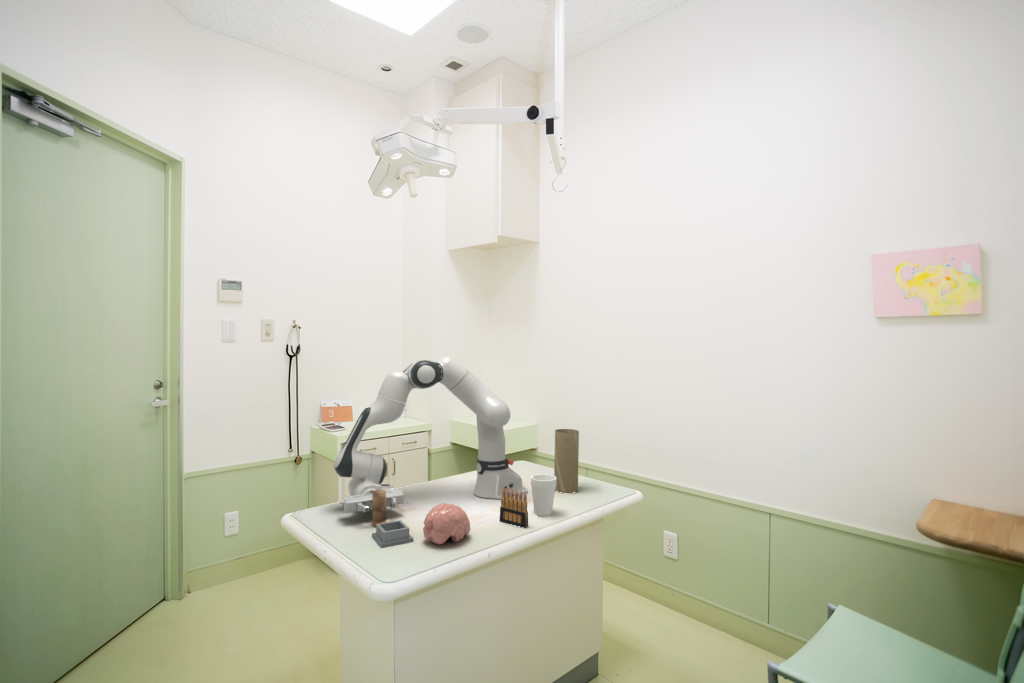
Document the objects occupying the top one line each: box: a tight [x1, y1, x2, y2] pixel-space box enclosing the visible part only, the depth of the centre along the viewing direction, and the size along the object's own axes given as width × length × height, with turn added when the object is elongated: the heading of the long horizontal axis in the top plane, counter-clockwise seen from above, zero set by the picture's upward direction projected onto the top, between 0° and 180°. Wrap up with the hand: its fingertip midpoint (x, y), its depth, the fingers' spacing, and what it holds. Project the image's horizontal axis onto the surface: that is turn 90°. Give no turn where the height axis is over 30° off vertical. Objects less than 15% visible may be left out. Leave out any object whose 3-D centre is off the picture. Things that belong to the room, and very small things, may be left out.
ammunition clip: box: [499, 487, 529, 529], centre depth 171 cm, size 11×2×12 cm, turn 56°
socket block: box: [371, 519, 414, 549], centre depth 156 cm, size 10×10×4 cm
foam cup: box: [530, 473, 556, 517], centre depth 182 cm, size 10×9×13 cm
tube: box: [553, 428, 580, 494], centre depth 212 cm, size 10×10×25 cm
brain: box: [422, 503, 471, 545], centre depth 157 cm, size 16×13×12 cm
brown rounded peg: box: [371, 490, 387, 528], centre depth 168 cm, size 5×5×11 cm
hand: (380, 507), depth 168 cm, fingers open, 8 cm apart
